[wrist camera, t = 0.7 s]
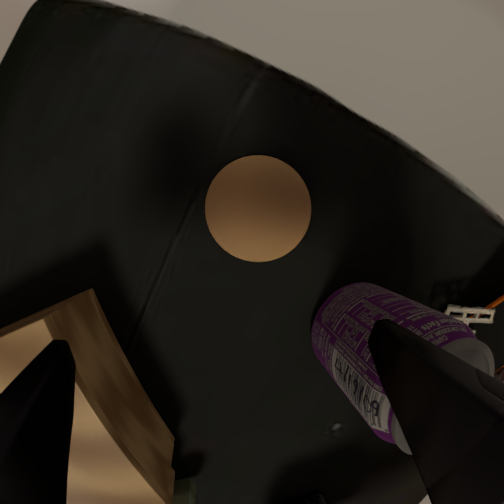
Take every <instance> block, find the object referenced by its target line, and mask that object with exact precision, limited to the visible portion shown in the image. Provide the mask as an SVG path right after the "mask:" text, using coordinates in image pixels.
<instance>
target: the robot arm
mask: <svg viewBox="0 0 504 504" xmlns="http://www.w3.org/2000/svg"><path fill="white" fill-rule="evenodd" d="M368 347H369V350H370V353H371V356H372V359H373V361H374V364H375V367H376V370H377V373H378V376H379V379H380V382H381V384H382V387H383V389H384V392H385V394H386V396H387V398H388V400H389V403H390V405H391V407H392V409H393V411H394V414H395V416H396V418H397V420H398V423H399V425H400V427H401V430H402V432H403V434H404V436H405V439H406V441H407V443H408V446H409V448H410V451H411V453H412V455H413V458H414V460H415V463H416V465H417V467H418V470H419V472H420V475H421V477H422V480H423V482H424V485H425V487H426V490H427V493H428V495H429V498H430V501H431V503H432V504H504V382H502V381H500V380H498V379H496V378H494V377H492V376H490V375H488V374H486V373H485V372H483V371H481V370H479V369H477V368H475V367H474V366H472V365H470V364H469V363H467V362H465V361H463V360H461V359H460V358H458V357H456V356H454V355H452V354H451V353H449V352H447V351H445V350H444V349H442V348H440V347H438V346H436V345H435V344H433V343H431V342H429V341H427V340H426V339H424V338H422V337H420V336H418V335H417V334H415V333H413V332H411V331H410V330H408V329H406V328H404V327H402V326H401V325H399V324H397V323H395V322H393V321H392V320H390V319H380V320H377V321H376V322H375V323H374V325H373V328H372V331H371V333H370V336H369V338H368ZM75 376H76V363H75V359H74V356H73V354H72V351H71V349H70V346H69V343H68V342H67V341H66V340H58V339H55V340H52V341H51V342H50V343H49V344H48V345H47V346H46V347H45V348H44V349H43V350H42V351H41V352H40V353H39V354H38V355H37V356H36V357H35V358H34V359H33V360H32V361H31V362H30V363H29V364H28V365H27V366H26V367H25V368H24V369H23V370H22V371H21V372H20V373H19V374H18V376H17V377H16V378H15V379H14V380H13V381H12V382H11V383H10V384H9V385H8V386H7V387H6V388H5V389H4V390H3V391H2V393H1V394H0V504H67V480H68V465H69V454H70V444H71V435H72V426H73V417H74V395H75ZM284 504H326V502H325V500H324V498H323V496H322V494H321V492H319V491H318V492H314V493H311V494H309V495H306V496H303V497H301V498H298V499H295V500H292V501H289V502H287V503H284Z"/></svg>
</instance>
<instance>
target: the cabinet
mask: <svg viewBox="0 0 504 504" xmlns="http://www.w3.org/2000/svg"><path fill="white" fill-rule="evenodd" d="M55 339H58V340H66V341H67V342H68V343H69V346H70V349H71V351H72V354H73V356H74V359H75V363H76V376H75V395H74V417H73V426H72V435H71V444H70V454H69V465H68V480H67V504H166V503H167V496H168V487H169V479H170V471H171V463H172V455H173V448H174V440H175V438H174V437H173V435H172V434H171V432H170V431H169V429H168V427H167V426H166V424H165V423H164V421H163V420H162V418H161V417H160V415H159V413H158V412H157V410H156V409H155V407H154V405H153V404H152V402H151V400H150V399H149V397H148V395H147V394H146V392H145V390H144V389H143V387H142V385H141V383H140V382H139V380H138V378H137V376H136V375H135V373H134V371H133V369H132V367H131V366H130V364H129V362H128V360H127V358H126V356H125V354H124V353H123V351H122V349H121V347H120V345H119V343H118V341H117V339H116V337H115V335H114V333H113V331H112V329H111V327H110V325H109V323H108V321H107V318H106V316H105V314H104V312H103V310H102V308H101V306H100V303H99V301H98V299H97V297H96V294H95V292H94V290H93V288H91V289H89V290H86V291H84V292H82V293H80V294H77V295H75V296H73V297H70V298H68V299H66V300H64V301H61V302H59V303H57V304H55V305H52V306H50V307H48V308H46V309H43V310H41V311H39V312H37V313H35V314H32V315H30V316H28V317H26V318H23V319H21V320H19V321H17V322H15V323H13V324H10V325H8V326H6V327H4V328H2V329H0V394H1V393H2V391H3V390H4V389H5V388H6V387H7V386H8V385H9V384H10V383H11V382H12V381H13V380H14V379H15V378H16V377H17V376H18V374H19V373H20V372H21V371H22V370H23V369H24V368H25V367H26V366H27V365H28V364H29V363H30V362H31V361H32V360H33V359H34V358H35V357H36V356H37V355H38V354H39V353H40V352H41V351H42V350H43V349H44V348H45V347H46V346H47V345H48V344H49V343H50V342H51V341H52V340H55Z"/></svg>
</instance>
